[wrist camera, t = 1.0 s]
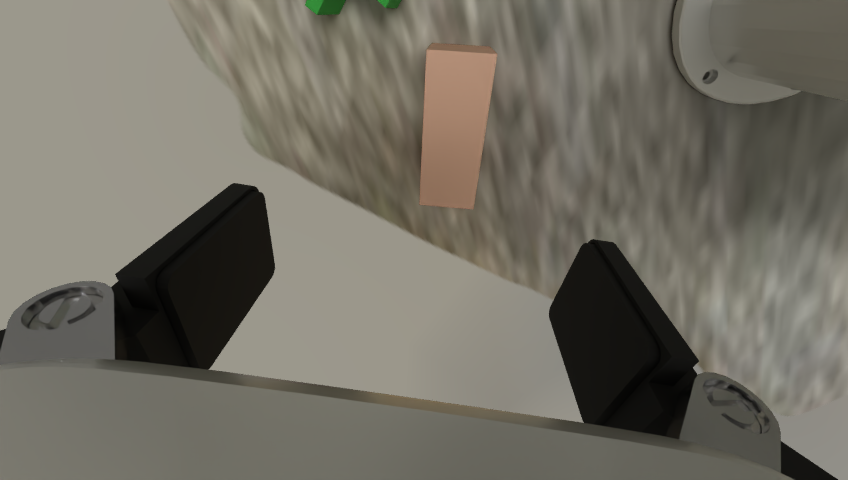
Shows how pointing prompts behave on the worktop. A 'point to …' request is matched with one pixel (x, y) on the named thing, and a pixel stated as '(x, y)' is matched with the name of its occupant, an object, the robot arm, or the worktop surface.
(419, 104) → the worktop surface
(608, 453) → the robot arm
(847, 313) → the worktop surface
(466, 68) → the salmon pink rectangular block
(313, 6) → the pipe clamp
